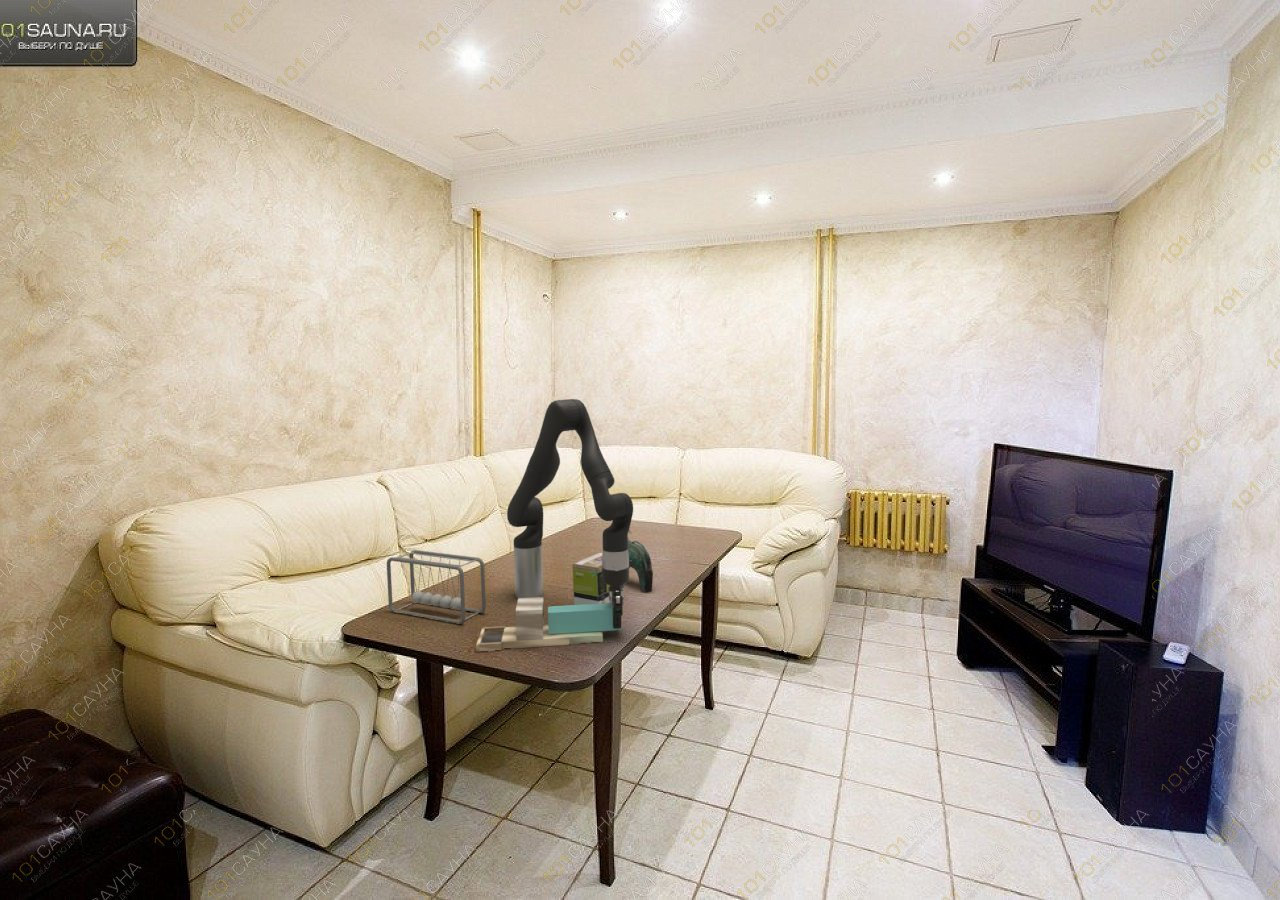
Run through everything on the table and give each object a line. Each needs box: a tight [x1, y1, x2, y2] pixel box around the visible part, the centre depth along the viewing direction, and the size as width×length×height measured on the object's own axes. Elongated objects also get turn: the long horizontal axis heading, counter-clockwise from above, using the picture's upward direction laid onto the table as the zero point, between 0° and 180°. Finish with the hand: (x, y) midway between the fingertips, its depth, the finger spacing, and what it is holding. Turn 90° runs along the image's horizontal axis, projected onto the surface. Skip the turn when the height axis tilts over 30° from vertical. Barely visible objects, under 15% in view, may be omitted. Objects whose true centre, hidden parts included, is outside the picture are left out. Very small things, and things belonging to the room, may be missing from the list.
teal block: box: [547, 603, 622, 634], centre depth 162 cm, size 5×20×6 cm, turn 98°
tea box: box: [572, 552, 625, 605], centre depth 189 cm, size 15×10×15 cm
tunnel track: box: [475, 596, 604, 652], centre depth 161 cm, size 12×33×10 cm, turn 98°
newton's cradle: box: [386, 549, 487, 625], centre depth 181 cm, size 30×10×18 cm, turn 66°
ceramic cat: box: [628, 529, 654, 593], centre depth 206 cm, size 20×6×20 cm, turn 37°
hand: (616, 624), depth 164 cm, fingers closed on teal block, 5 cm apart
